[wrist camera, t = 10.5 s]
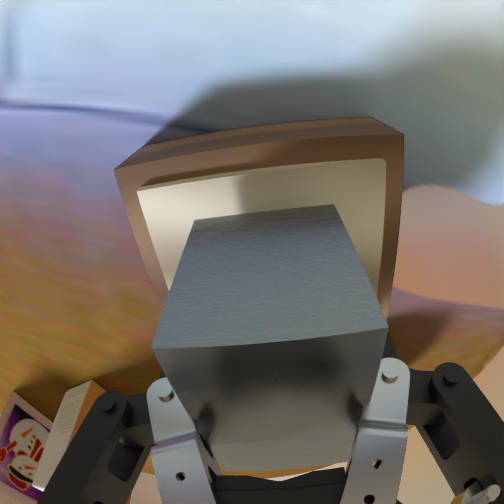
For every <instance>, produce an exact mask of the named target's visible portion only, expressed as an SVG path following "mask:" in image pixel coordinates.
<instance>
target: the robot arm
mask: <svg viewBox="0 0 504 504" xmlns="http://www.w3.org/2000/svg"><path fill="white" fill-rule="evenodd" d="M406 424H408V425H415V426H416V428H417V429H418V431H419V433H420V435H421V436H422V438H423V440H424V441H425V443H426V445H427V447H428V448H429V450H430V452H431V453H432V455H433V457H434V458H435V460H436V462H437V464H438V466H439V467H440V469H441V471H442V473H443V475H444V476H445V478H446V480H447V482H448V484H449V485H450V487H451V489H452V491H453V493H454V494H455V497H454V499H453V500H452V502H451V504H504V422H503V421H502V419H501V418H500V416H499V415H498V414H497V412H496V411H495V410H494V408H493V407H492V405H491V404H490V403H489V401H488V400H487V398H486V397H485V396H484V394H483V393H482V391H480V389H479V387H478V386H477V385H476V383H475V382H474V381H473V380H472V378H471V377H470V376H469V374H468V373H467V372H466V370H465V369H464V368H463V367H462V366H460V365H458V364H456V363H451V362H447V363H443V364H440V365H439V366H438V367H437V368H436V369H435V370H434V371H420V370H414V369H411V368H408V367H407V365H406V364H405V363H404V362H402V361H401V360H399V358H398V356H397V354H396V351H395V348H394V346H393V343H392V340H391V338H390V335H389V332H388V333H387V338H386V342H385V347H384V351H383V355H382V359H381V363H380V367H379V371H378V375H377V379H376V383H375V386H374V390H373V394H372V397H371V398H367V399H365V402H364V406H363V410H362V415H361V420H360V424H359V429H357V430H356V433H355V437H354V442H353V446H352V450H351V453H350V457H349V460H348V464H347V467H346V471H345V469H344V467H341V468H334V469H328V470H319V471H312V472H309V473H306V474H303V475H300V476H298V477H294V478H291V479H288V480H284V481H273V480H267V479H262V478H257V477H252V476H224V475H223V474H222V472H221V470H220V468H219V466H218V463H217V461H216V458H215V455H214V452H213V449H212V446H211V444H210V443H209V441H208V440H204V439H203V437H202V436H201V434H200V433H199V431H198V428H197V424H196V421H195V419H194V417H193V415H192V414H191V413H187V412H186V410H185V408H184V407H183V405H182V403H181V402H180V400H179V398H178V397H177V395H176V393H175V391H174V390H173V388H172V386H171V384H170V383H169V381H168V379H167V377H166V375H165V374H164V372H163V370H162V372H161V376H160V379H159V380H157V381H155V382H154V383H153V384H152V385H151V386H150V387H149V389H148V391H147V392H146V393H143V394H139V395H135V396H131V397H127V398H125V397H124V396H123V394H121V393H120V392H118V391H108V392H105V393H103V394H101V395H100V396H99V397H98V398H97V399H96V400H95V402H94V403H93V405H92V407H91V408H90V410H89V412H88V413H87V415H86V417H85V418H84V420H83V422H82V424H81V425H80V427H79V429H78V430H77V432H76V434H75V436H74V437H73V439H72V441H71V442H70V444H69V446H68V448H67V449H66V451H65V453H64V455H63V456H62V458H61V460H60V462H59V464H58V465H57V467H56V469H55V471H54V473H53V474H52V476H51V478H50V480H49V482H48V484H47V485H46V487H45V489H44V491H43V493H42V495H41V497H40V499H39V501H38V502H37V504H126V503H127V500H128V498H129V496H130V494H131V492H132V490H133V488H134V485H135V483H136V481H137V479H138V477H139V475H140V472H141V470H142V468H143V466H144V464H145V462H146V460H147V458H148V455H149V453H150V451H151V456H152V461H153V466H154V471H155V476H156V480H157V484H158V488H159V493H160V497H161V501H162V504H402V503H401V502H399V501H398V500H397V495H398V491H399V485H400V481H401V475H402V470H403V464H404V457H405V451H406V445H407V438H408V427H406Z"/></svg>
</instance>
